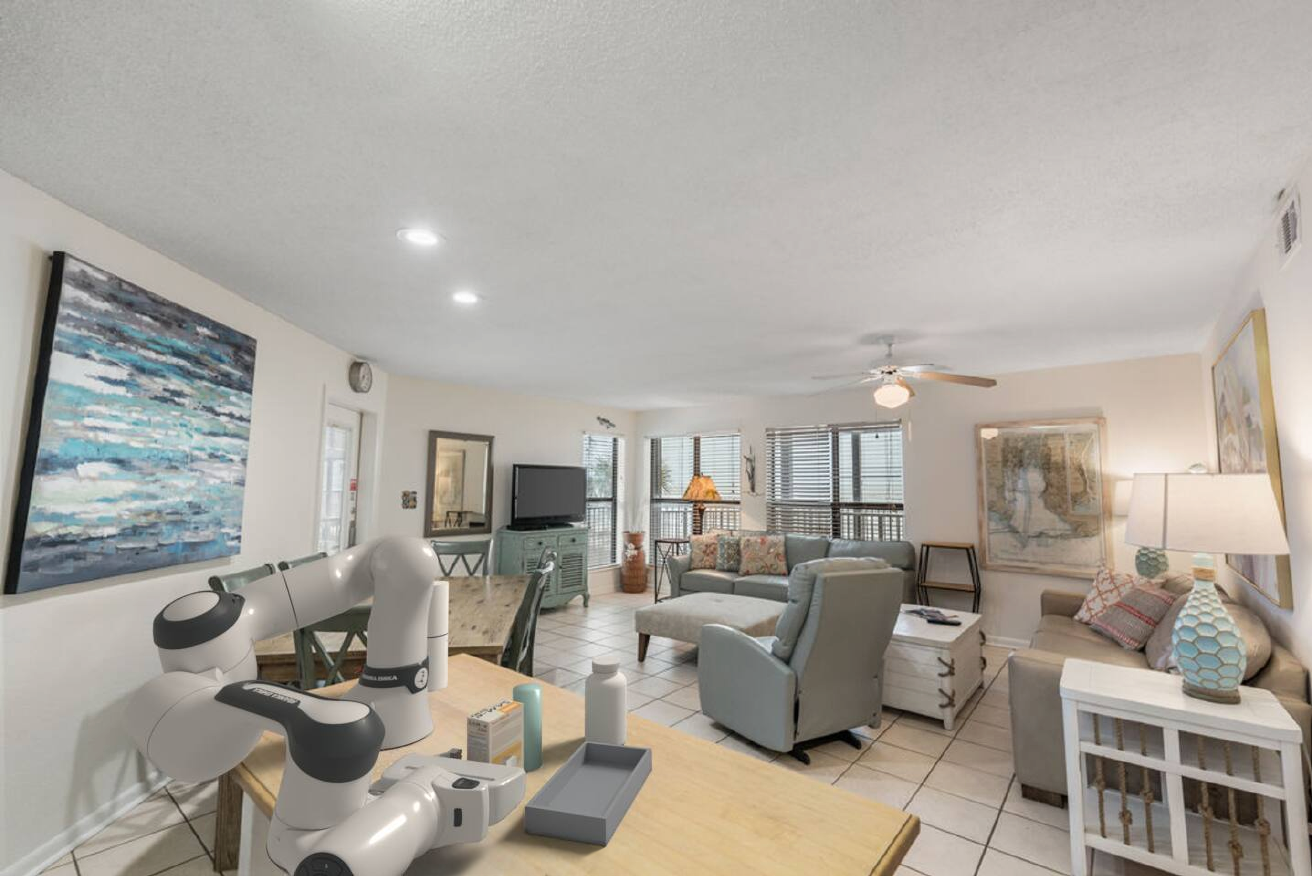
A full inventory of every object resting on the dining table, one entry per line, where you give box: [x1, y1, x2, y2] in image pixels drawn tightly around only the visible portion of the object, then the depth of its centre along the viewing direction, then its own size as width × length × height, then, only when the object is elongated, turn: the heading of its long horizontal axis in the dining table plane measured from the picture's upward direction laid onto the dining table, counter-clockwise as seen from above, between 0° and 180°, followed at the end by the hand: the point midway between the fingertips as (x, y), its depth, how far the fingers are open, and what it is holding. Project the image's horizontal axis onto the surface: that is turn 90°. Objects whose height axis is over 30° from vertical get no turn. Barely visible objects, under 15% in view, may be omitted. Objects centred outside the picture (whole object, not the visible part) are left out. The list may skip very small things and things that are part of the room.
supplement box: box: [466, 699, 524, 769], centre depth 89 cm, size 8×5×13 cm, turn 153°
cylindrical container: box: [427, 580, 450, 693], centre depth 140 cm, size 7×7×25 cm
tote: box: [524, 740, 653, 847], centre depth 87 cm, size 12×21×4 cm, turn 164°
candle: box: [512, 682, 543, 773], centre depth 99 cm, size 5×5×13 cm
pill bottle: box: [584, 656, 628, 745], centre depth 108 cm, size 8×8×15 cm
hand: (484, 756), depth 86 cm, fingers open, 8 cm apart
